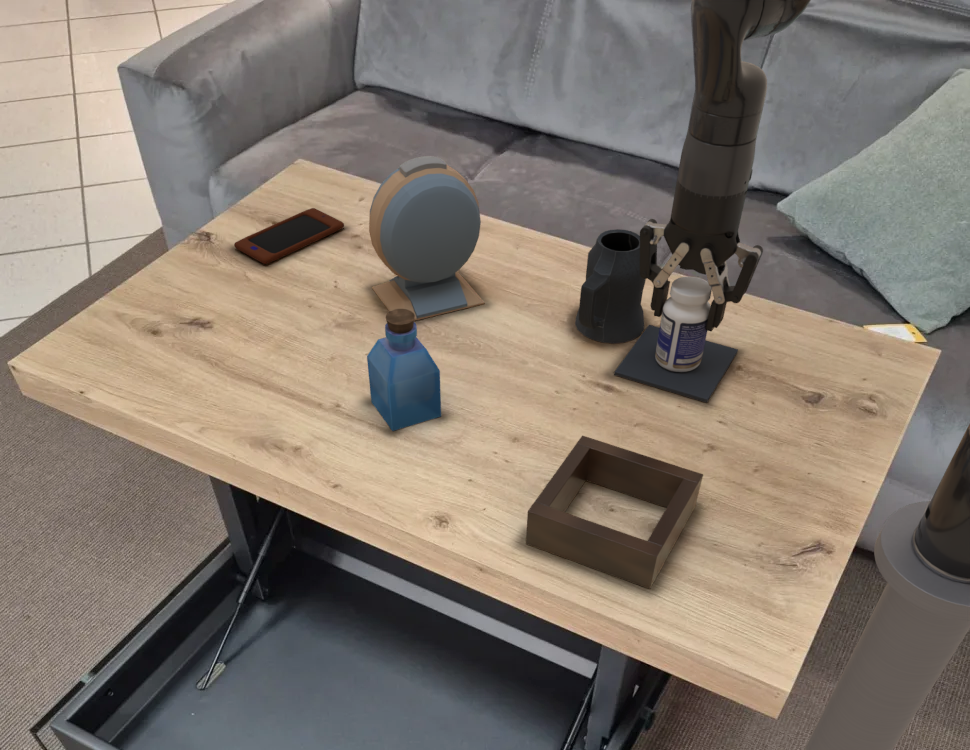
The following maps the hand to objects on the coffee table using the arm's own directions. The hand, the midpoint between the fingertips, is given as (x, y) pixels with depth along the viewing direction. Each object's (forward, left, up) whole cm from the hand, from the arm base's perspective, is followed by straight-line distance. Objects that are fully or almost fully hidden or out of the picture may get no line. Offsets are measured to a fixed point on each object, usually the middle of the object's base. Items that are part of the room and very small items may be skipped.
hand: (685, 320), depth 112 cm
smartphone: (+60, -3, -6) cm, 60 cm away
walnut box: (-4, +31, -6) cm, 32 cm away
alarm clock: (+35, +1, -6) cm, 36 cm away
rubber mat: (0, 0, -6) cm, 6 cm away
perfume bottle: (+25, +24, -6) cm, 35 cm away
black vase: (+11, -3, -6) cm, 13 cm away
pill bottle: (0, 0, -6) cm, 6 cm away
